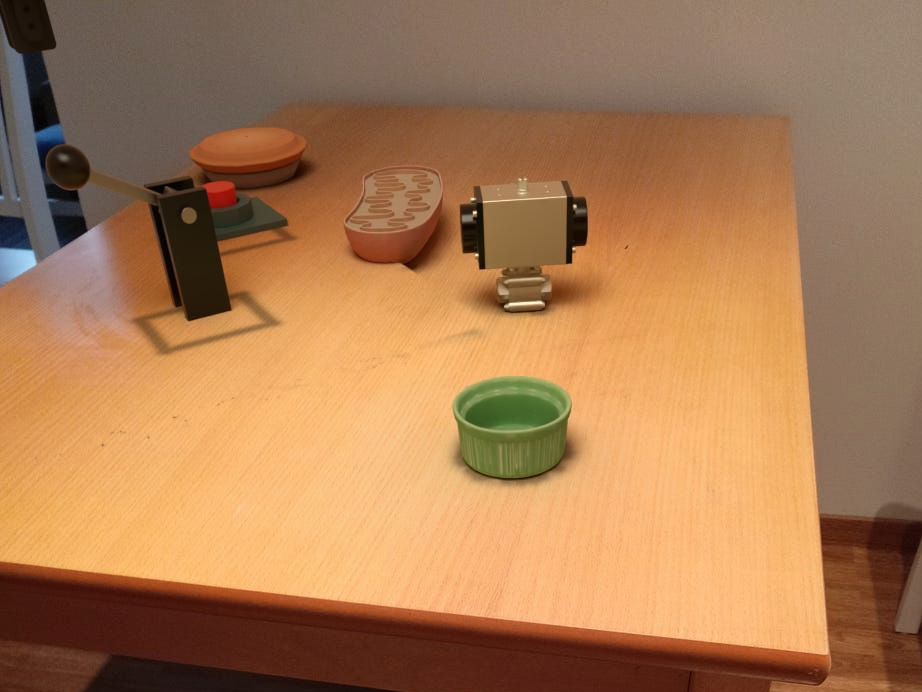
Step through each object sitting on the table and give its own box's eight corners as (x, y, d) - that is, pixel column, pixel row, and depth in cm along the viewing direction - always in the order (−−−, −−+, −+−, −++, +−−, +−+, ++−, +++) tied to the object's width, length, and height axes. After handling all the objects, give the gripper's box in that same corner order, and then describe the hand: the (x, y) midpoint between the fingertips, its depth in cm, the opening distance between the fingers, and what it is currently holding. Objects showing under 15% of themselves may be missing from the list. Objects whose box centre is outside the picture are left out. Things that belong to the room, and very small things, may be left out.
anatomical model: (372, 209, 124) (367, 166, 121) (452, 207, 124) (450, 163, 121) (343, 281, 107) (336, 233, 104) (436, 279, 107) (433, 231, 103)
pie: (292, 195, 130) (285, 153, 127) (178, 194, 132) (168, 153, 129) (324, 159, 141) (319, 120, 138) (219, 159, 144) (211, 120, 140)
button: (209, 213, 115) (205, 194, 113) (198, 204, 117) (194, 185, 116) (242, 206, 116) (239, 187, 115) (231, 197, 119) (227, 178, 118)
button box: (190, 261, 114) (182, 224, 111) (164, 235, 120) (156, 200, 118) (290, 238, 118) (284, 202, 115) (259, 215, 125) (253, 180, 122)
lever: (46, 186, 86) (56, 142, 84) (37, 175, 88) (46, 133, 87) (194, 236, 94) (205, 197, 93) (182, 225, 96) (193, 187, 95)
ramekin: (594, 448, 79) (596, 396, 76) (519, 497, 74) (519, 445, 71) (507, 414, 84) (505, 364, 81) (431, 458, 79) (427, 407, 76)
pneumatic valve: (586, 311, 99) (589, 182, 91) (466, 319, 99) (459, 190, 91) (578, 289, 103) (581, 163, 95) (463, 296, 103) (457, 171, 95)
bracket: (164, 351, 96) (128, 212, 88) (138, 319, 102) (102, 186, 94) (273, 323, 100) (248, 187, 92) (242, 293, 106) (216, 163, 98)
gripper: (-126, -250, 73) (-31, 40, 85) (-100, -260, 63) (4, 73, 75) (-18, -255, 76) (59, 28, 88) (24, -264, 66) (105, 58, 78)
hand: (33, 47), depth 81 cm, fingers closed
